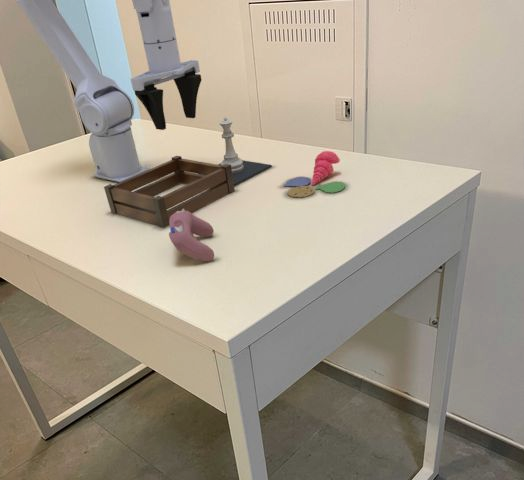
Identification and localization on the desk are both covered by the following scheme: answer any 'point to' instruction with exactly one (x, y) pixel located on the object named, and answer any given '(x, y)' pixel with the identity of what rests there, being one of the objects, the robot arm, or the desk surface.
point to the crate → (155, 208)
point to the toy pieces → (317, 177)
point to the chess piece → (230, 148)
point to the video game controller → (190, 235)
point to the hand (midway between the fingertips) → (176, 123)
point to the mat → (248, 171)
